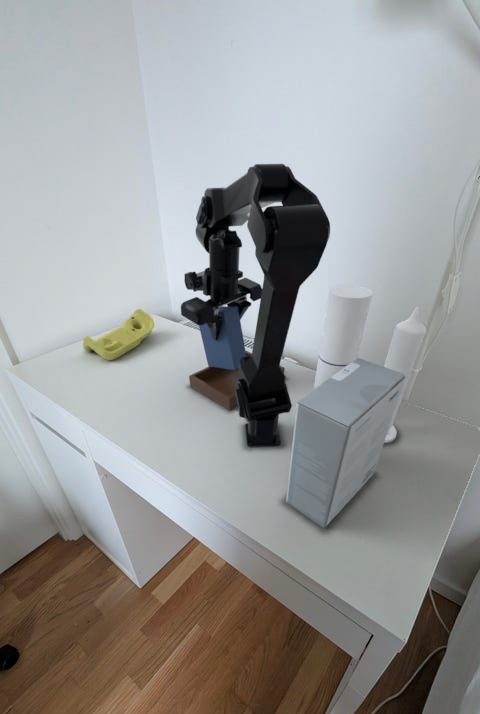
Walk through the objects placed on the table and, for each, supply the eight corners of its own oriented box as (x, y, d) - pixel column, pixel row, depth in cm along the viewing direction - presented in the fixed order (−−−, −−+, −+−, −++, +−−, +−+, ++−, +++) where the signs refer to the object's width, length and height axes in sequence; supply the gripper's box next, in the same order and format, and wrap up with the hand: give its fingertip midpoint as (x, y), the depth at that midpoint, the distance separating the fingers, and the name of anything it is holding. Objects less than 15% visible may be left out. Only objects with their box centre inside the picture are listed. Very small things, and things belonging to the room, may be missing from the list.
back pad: (247, 363, 79) (237, 306, 73) (234, 370, 76) (223, 311, 70) (221, 359, 85) (209, 306, 78) (208, 366, 82) (195, 311, 76)
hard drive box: (335, 453, 63) (358, 356, 50) (373, 474, 58) (410, 374, 46) (283, 502, 54) (295, 399, 41) (324, 531, 50) (352, 426, 37)
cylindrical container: (305, 403, 75) (321, 287, 59) (333, 397, 77) (357, 283, 61) (320, 422, 70) (343, 300, 54) (350, 415, 71) (381, 295, 56)
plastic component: (109, 356, 88) (81, 332, 89) (108, 374, 94) (82, 352, 94) (161, 325, 100) (135, 304, 100) (157, 342, 106) (133, 323, 106)
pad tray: (244, 360, 91) (244, 349, 89) (283, 378, 83) (284, 367, 81) (190, 387, 81) (188, 375, 79) (229, 410, 73) (229, 398, 71)
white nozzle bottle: (379, 417, 71) (418, 296, 55) (403, 438, 66) (454, 311, 50) (351, 425, 69) (383, 302, 53) (373, 447, 64) (417, 318, 48)
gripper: (229, 242, 74) (227, 309, 85) (159, 263, 64) (168, 335, 76) (267, 258, 69) (260, 326, 80) (198, 284, 59) (201, 357, 71)
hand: (223, 335), depth 77 cm, fingers closed on back pad, 5 cm apart
